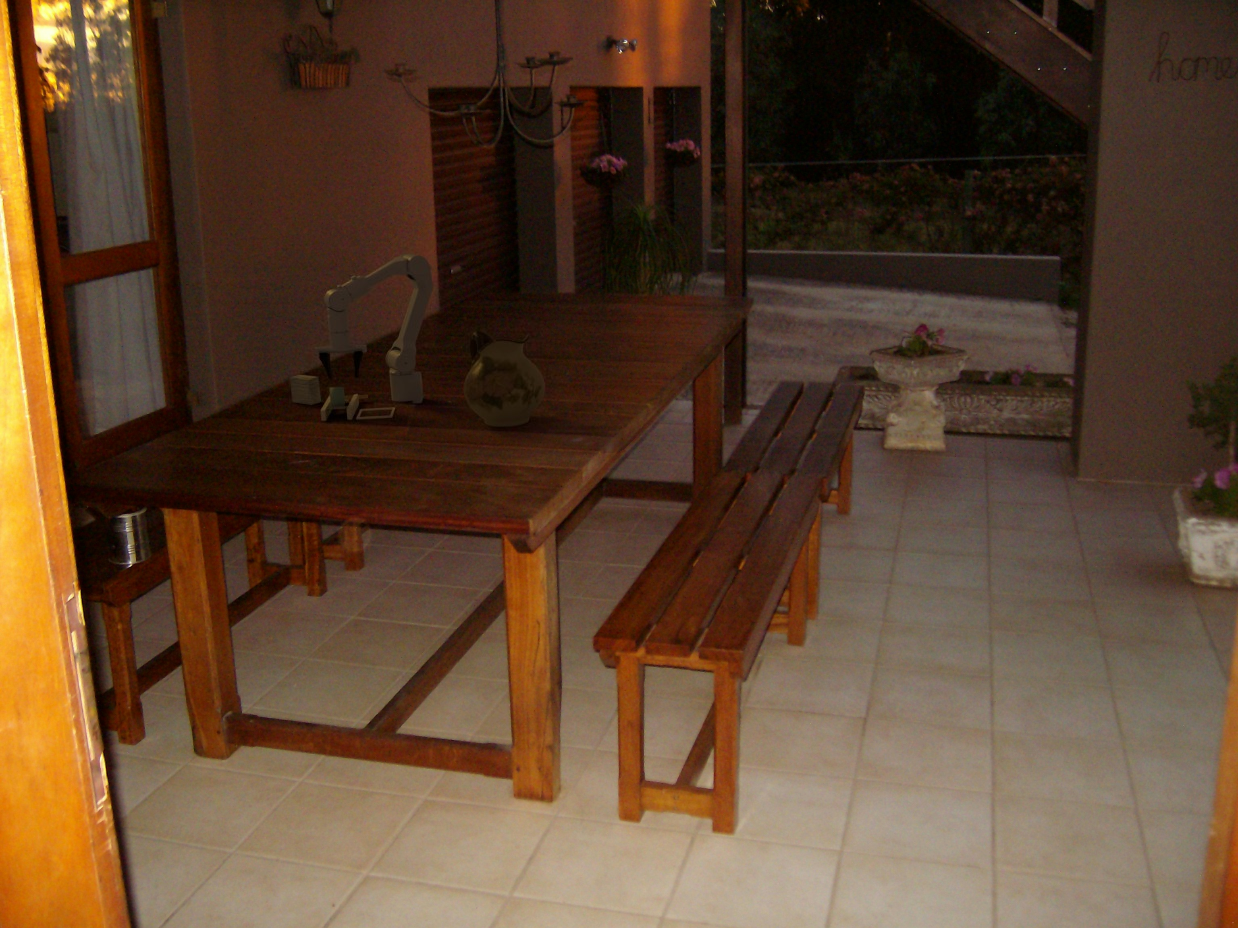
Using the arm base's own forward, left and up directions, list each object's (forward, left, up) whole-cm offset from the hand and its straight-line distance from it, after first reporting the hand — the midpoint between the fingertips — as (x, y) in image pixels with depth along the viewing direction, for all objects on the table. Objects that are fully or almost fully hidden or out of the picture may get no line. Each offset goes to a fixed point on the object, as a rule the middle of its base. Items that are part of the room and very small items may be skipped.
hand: (343, 377), depth 359 cm
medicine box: (+13, -9, -10) cm, 19 cm away
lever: (-1, +4, -8) cm, 9 cm away
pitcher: (-46, +23, -10) cm, 52 cm away
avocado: (+1, +10, -6) cm, 12 cm away
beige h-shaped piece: (+1, +6, -10) cm, 11 cm away
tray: (-10, +10, -10) cm, 17 cm away
